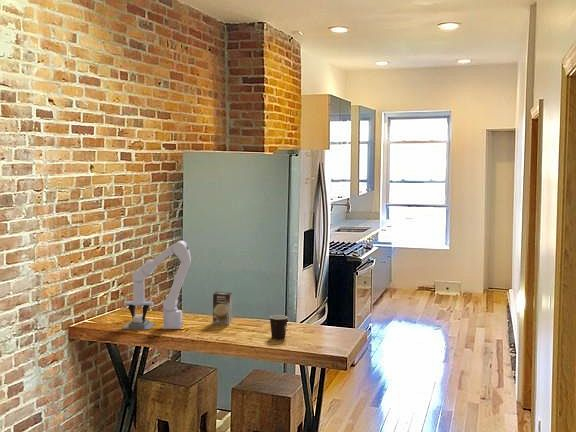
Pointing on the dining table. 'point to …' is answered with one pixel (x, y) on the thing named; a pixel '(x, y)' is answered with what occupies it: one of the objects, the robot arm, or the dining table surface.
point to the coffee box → (222, 308)
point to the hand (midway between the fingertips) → (138, 319)
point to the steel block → (138, 319)
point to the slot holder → (139, 325)
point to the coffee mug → (278, 326)
